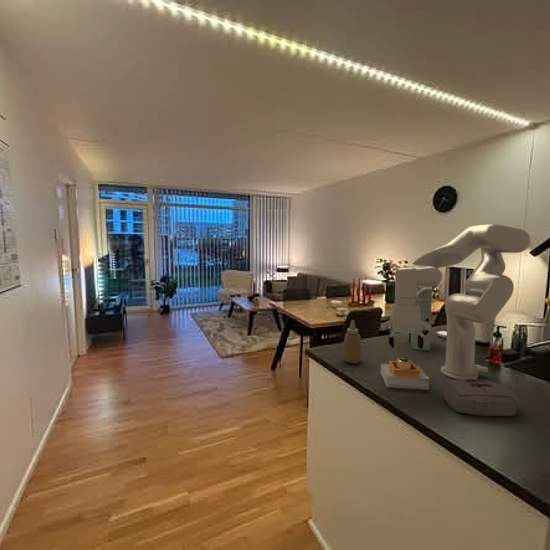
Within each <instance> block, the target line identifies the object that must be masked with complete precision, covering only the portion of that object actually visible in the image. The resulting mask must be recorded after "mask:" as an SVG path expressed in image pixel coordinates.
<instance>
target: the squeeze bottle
mask: <svg viewBox="0 0 550 550" xmlns="http://www.w3.org/2000/svg"><path fill="white" fill-rule="evenodd" d="M361 339H362V338H361V335H360V334H359V329H358V328H356V324H355V320H351V321H350V325H349V327H348V328H347V329H346V333H345V334H344V339H343V347H342V355H343V357H344V360H345V362H347V363H349V364H358V363H359V362H360V360H361V357H362V355H363V352H362V351H363V350H362V341H361Z"/></svg>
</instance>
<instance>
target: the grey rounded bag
mask: <svg viewBox="0 0 550 550" xmlns="http://www.w3.org/2000/svg"><path fill="white" fill-rule="evenodd" d="M441 389H442V395H443V397H444V400H445V402H446V403H447V405H448V407H450V408H451V409H452V410H453V411H454V412H457V413H460V414H463V415H464V414H465V415H469V414H470V415H471V416H475V415H477V417H485V416H505V417H515V416H516V414H517V412H518V409H519V407H520V405H521V402H520V400H519V397H518V395H517V394H516V393H515V392H513V391H512V390H511V389H509V388H508V387H506V386H505V385H502V384H500V383H498V382H494V381H491V380H486V379H478V378H477V379H448V380H444V382H442V387H441ZM478 415H479V416H478Z"/></svg>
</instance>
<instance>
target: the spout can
mask: <svg viewBox="0 0 550 550" xmlns="http://www.w3.org/2000/svg"><path fill="white" fill-rule="evenodd" d="M396 361H397V365H396V369H409V370H411V362H412V360H411V359H410V358H409V357H408V356H400V357H398V358H396Z"/></svg>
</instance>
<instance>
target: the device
mask: <svg viewBox="0 0 550 550" xmlns="http://www.w3.org/2000/svg"><path fill="white" fill-rule="evenodd" d="M417 297H418V298H422V302H418V305H419V306H420V312H421V320H422V321H424V322H426V323H428V324H430V325H431V326H432V305H433V304H432V302H433V301H432V299H433V287H423V286H418V296H417ZM425 328H426V326H424V325H422V330H421V332H422V331H423V330H424V329H425ZM431 329H432V328H431ZM431 329H430V331H429V333H428V334H427V335H425V337H424V338H423V346H422V349H420V348H419V347H418V346H417V337H418V335H419V334H418V333H407V340H408V342H409V343H410V346H411V348H412V349H413V350H414V349H415V351H428V352H430V349H431Z"/></svg>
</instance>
